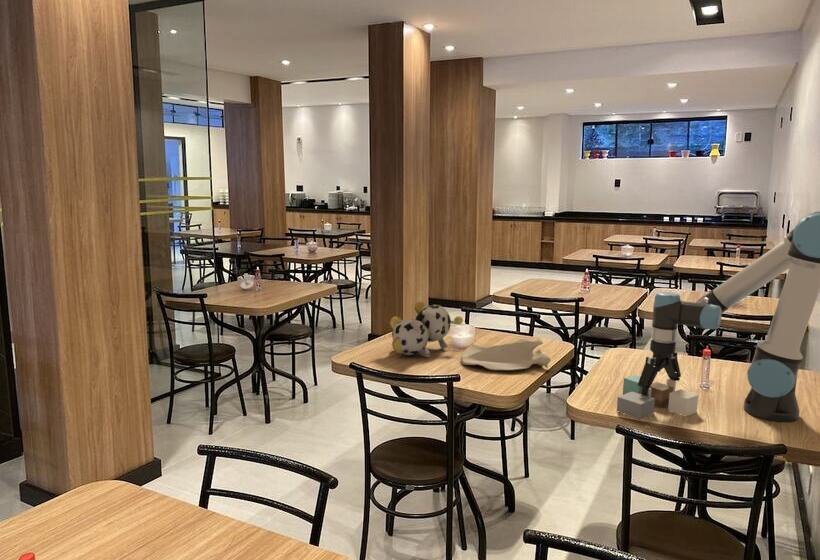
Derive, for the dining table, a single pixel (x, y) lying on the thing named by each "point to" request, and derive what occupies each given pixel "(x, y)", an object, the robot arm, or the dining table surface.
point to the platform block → (635, 405)
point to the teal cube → (632, 385)
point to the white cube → (683, 402)
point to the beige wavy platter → (506, 356)
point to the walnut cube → (660, 394)
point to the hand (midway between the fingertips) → (657, 402)
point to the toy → (421, 329)
